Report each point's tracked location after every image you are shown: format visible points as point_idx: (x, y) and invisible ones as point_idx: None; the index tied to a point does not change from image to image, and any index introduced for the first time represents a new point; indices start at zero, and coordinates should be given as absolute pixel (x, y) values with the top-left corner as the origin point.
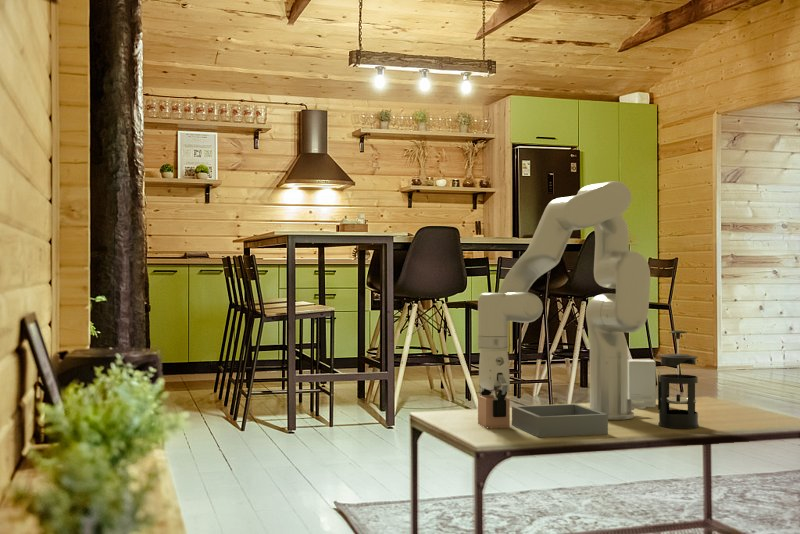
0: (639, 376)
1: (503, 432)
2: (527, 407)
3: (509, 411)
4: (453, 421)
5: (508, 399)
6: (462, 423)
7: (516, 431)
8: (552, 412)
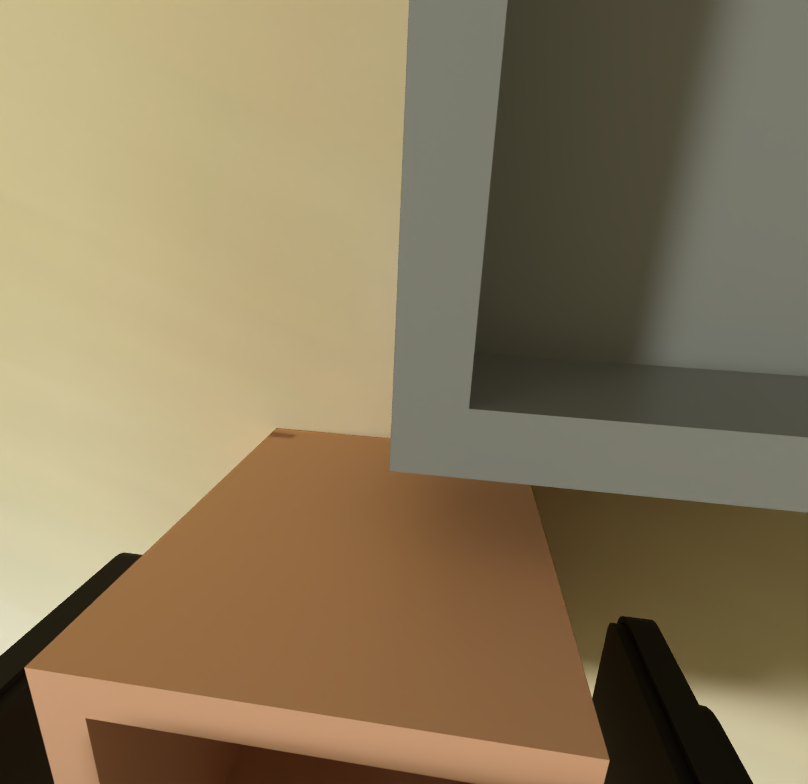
0: None
1: (769, 621)
2: (485, 185)
3: (547, 549)
4: None
5: (591, 746)
6: None
7: None
8: None
